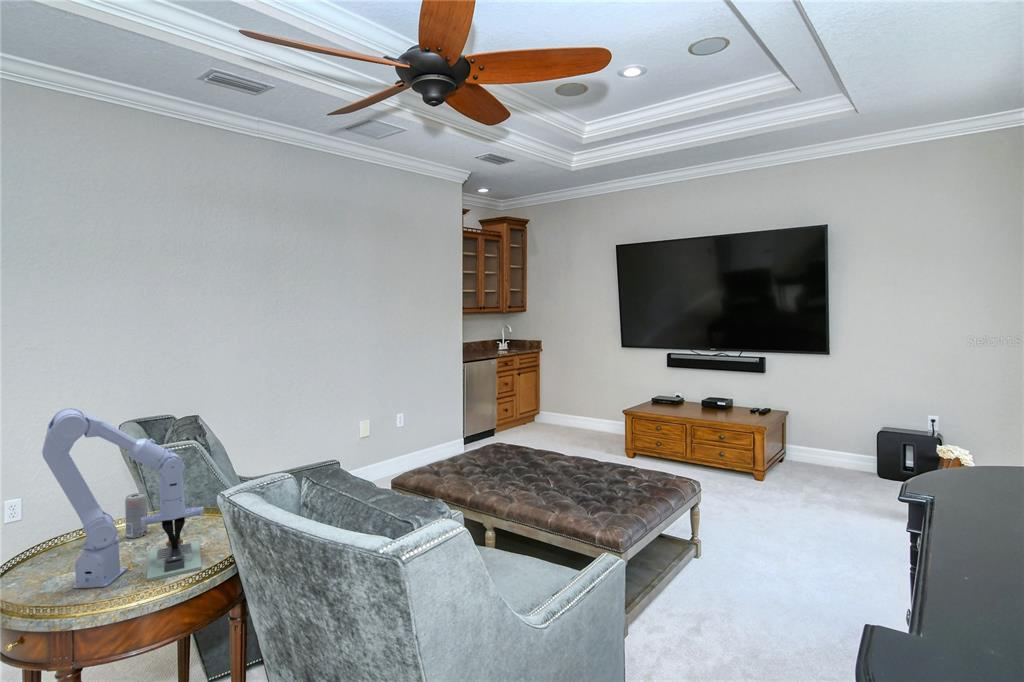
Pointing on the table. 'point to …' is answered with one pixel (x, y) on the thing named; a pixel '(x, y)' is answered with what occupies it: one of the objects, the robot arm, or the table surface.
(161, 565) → the heat sink
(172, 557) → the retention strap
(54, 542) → the table surface
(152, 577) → the socket board
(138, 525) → the energy drink
